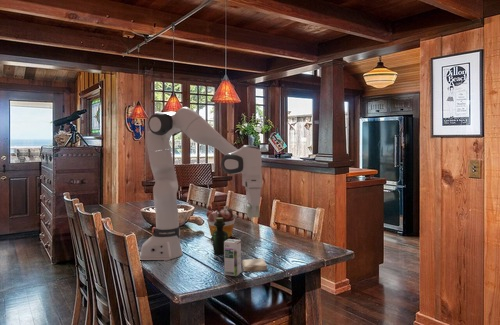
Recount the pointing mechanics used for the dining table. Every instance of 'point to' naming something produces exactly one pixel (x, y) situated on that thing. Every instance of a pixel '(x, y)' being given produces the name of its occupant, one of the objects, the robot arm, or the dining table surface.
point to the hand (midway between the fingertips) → (252, 212)
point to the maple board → (254, 264)
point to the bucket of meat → (223, 213)
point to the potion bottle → (219, 237)
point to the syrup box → (232, 257)
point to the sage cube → (249, 211)
